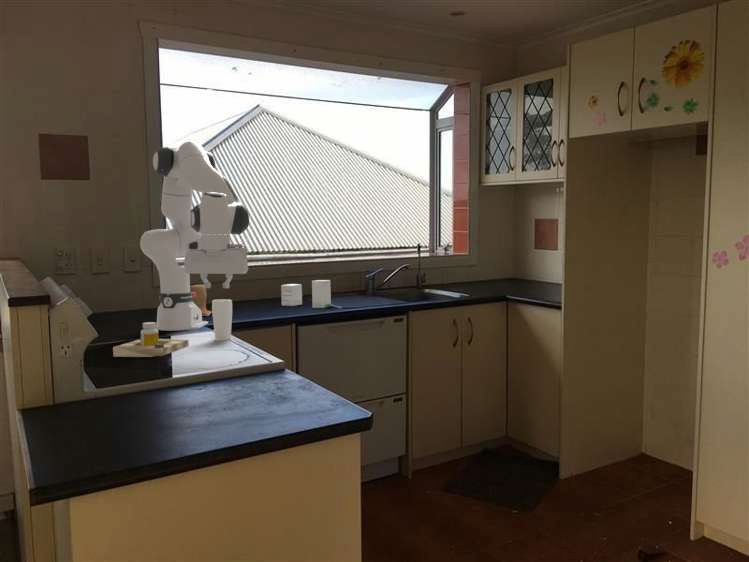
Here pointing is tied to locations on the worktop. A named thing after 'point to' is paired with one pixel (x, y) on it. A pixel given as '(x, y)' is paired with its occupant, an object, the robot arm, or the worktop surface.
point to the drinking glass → (222, 318)
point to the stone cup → (200, 298)
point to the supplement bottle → (149, 334)
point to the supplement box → (291, 294)
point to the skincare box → (321, 294)
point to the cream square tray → (149, 348)
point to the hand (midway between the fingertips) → (216, 288)
